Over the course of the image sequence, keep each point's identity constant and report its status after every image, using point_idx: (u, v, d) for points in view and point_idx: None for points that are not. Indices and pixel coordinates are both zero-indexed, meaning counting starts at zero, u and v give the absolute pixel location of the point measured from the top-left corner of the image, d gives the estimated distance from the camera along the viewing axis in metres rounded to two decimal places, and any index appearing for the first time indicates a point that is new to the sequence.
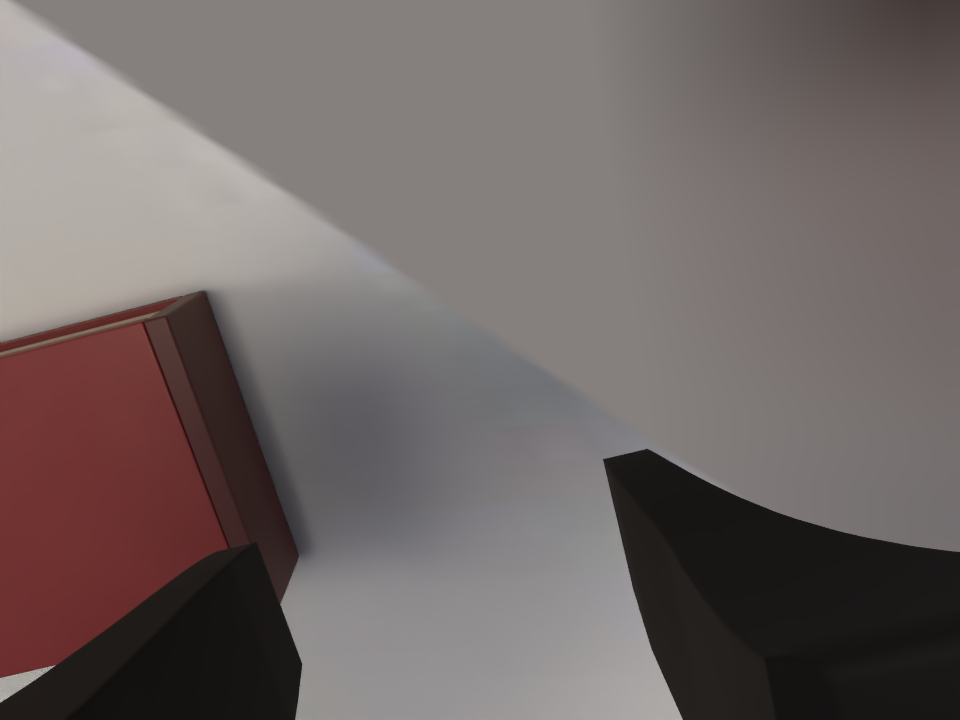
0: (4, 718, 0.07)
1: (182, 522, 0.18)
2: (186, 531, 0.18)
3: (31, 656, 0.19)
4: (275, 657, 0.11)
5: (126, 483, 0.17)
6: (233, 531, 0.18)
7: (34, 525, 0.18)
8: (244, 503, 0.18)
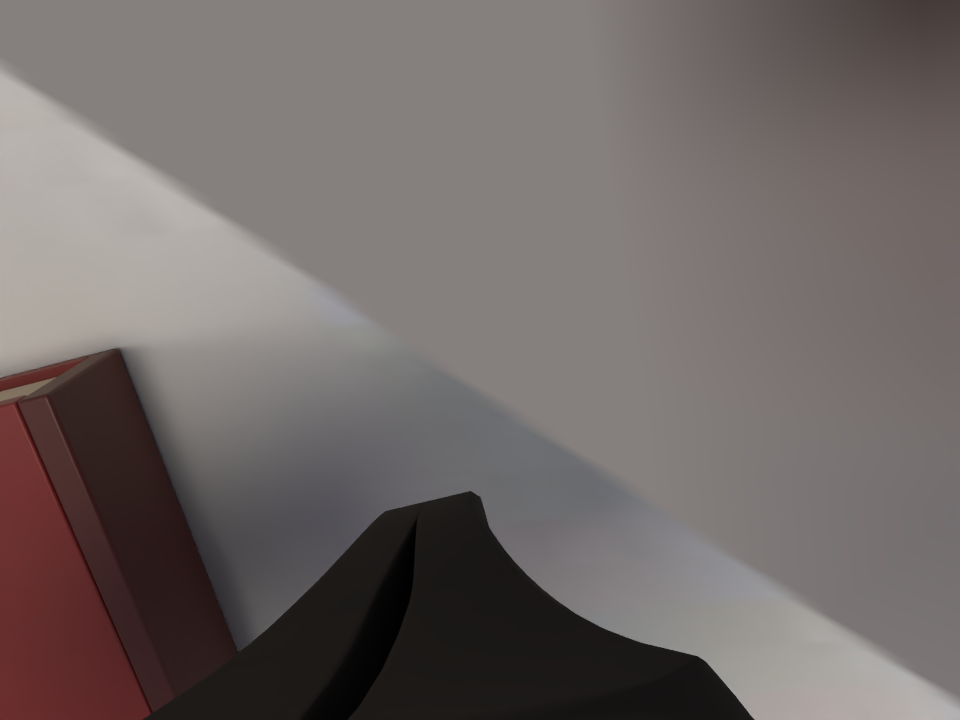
0: (266, 658, 0.07)
1: (81, 666, 0.13)
2: (87, 678, 0.13)
3: None
4: None
5: (2, 617, 0.13)
6: (150, 678, 0.13)
7: None
8: (167, 638, 0.13)
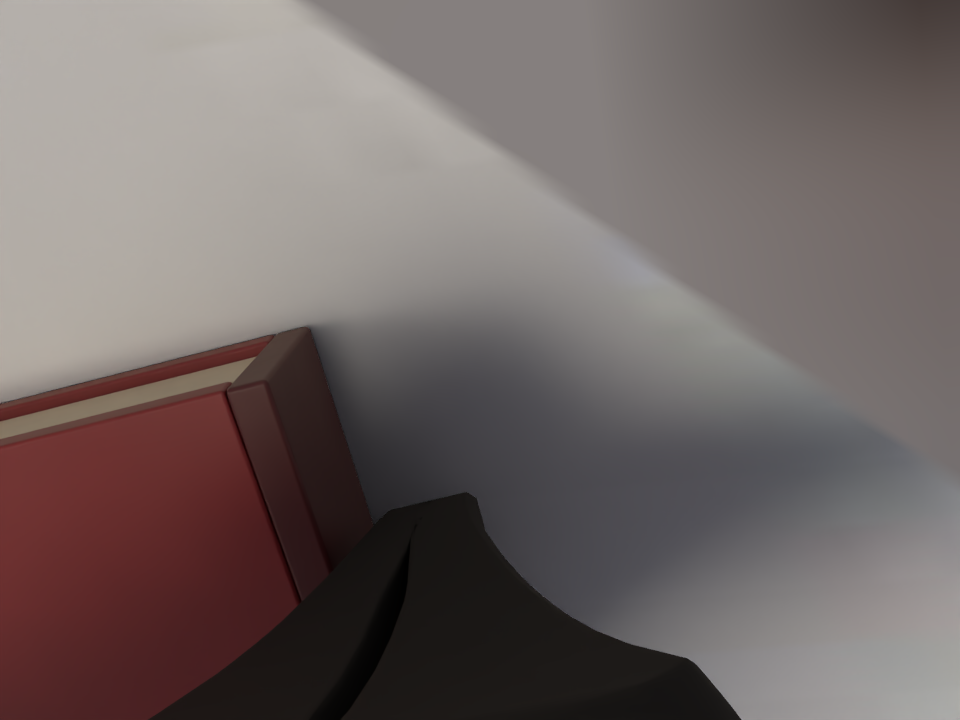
0: (273, 656, 0.07)
1: None
2: None
3: None
4: None
5: (187, 664, 0.10)
6: None
7: None
8: None
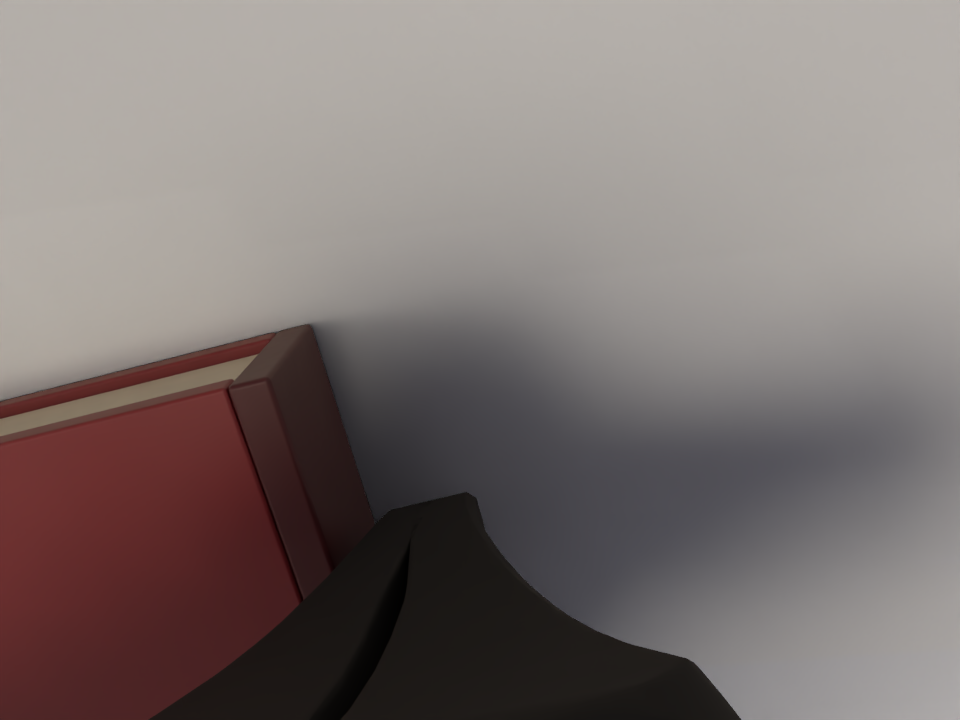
0: (274, 656, 0.07)
1: None
2: None
3: None
4: None
5: (189, 661, 0.10)
6: None
7: None
8: None
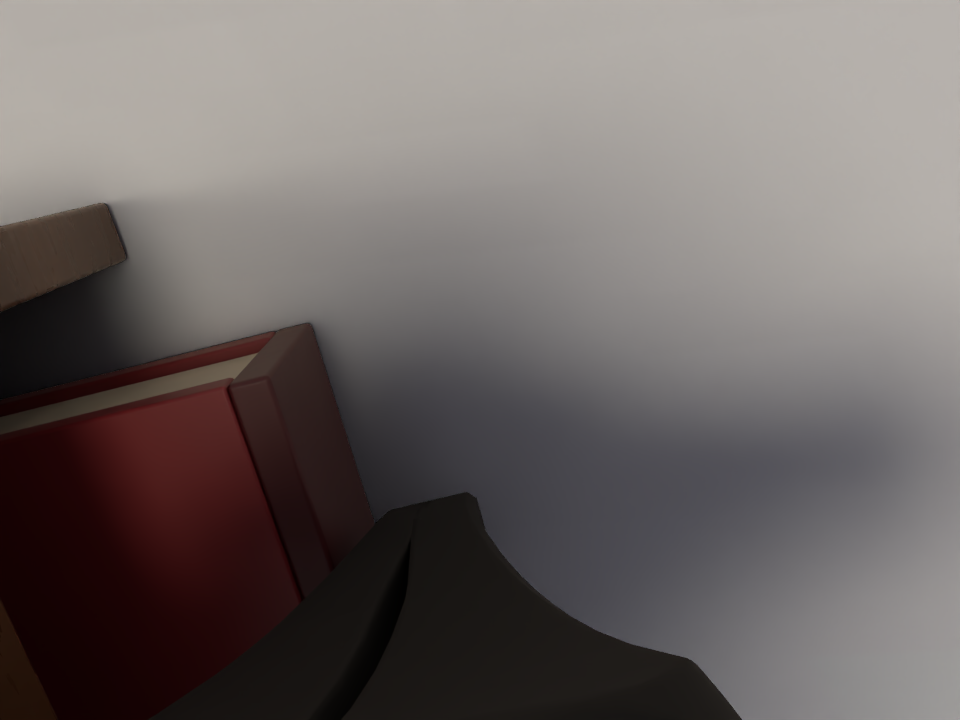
0: (273, 657, 0.07)
1: None
2: None
3: None
4: None
5: (188, 660, 0.10)
6: None
7: None
8: None
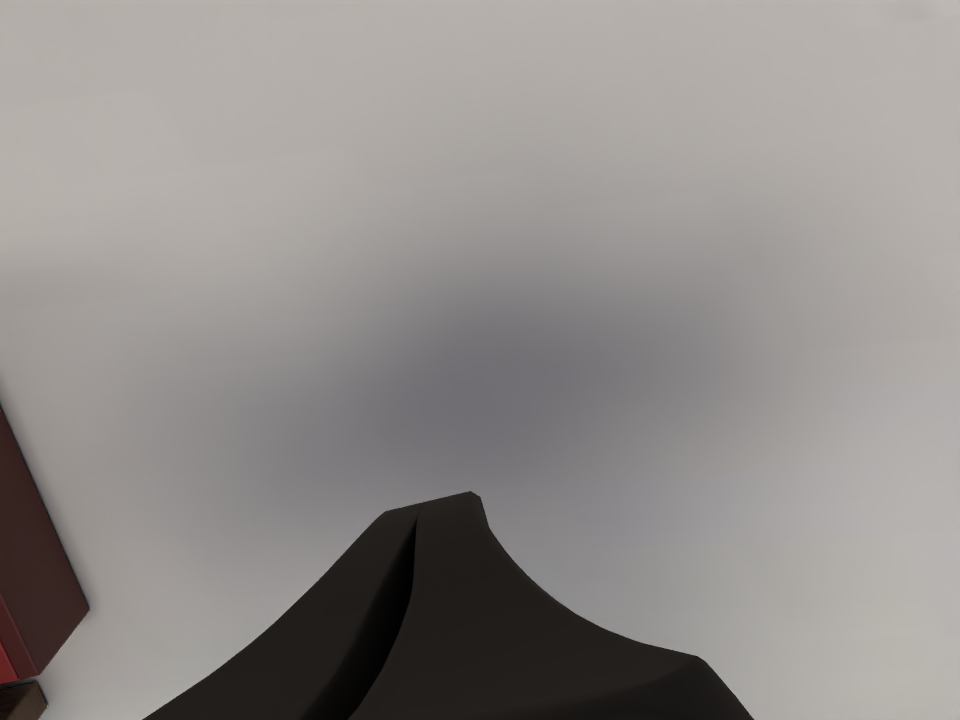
0: (265, 658, 0.07)
1: None
2: None
3: None
4: None
5: None
6: None
7: None
8: (3, 564, 0.18)
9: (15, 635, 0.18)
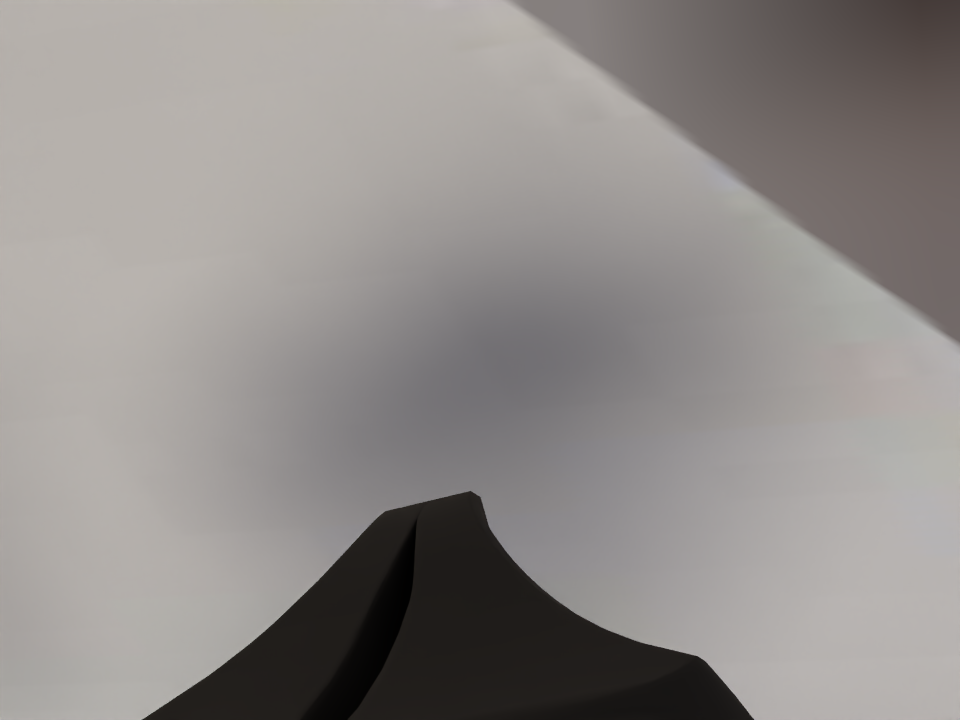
0: (265, 658, 0.07)
1: None
2: None
3: None
4: None
5: None
6: None
7: None
8: None
9: None
